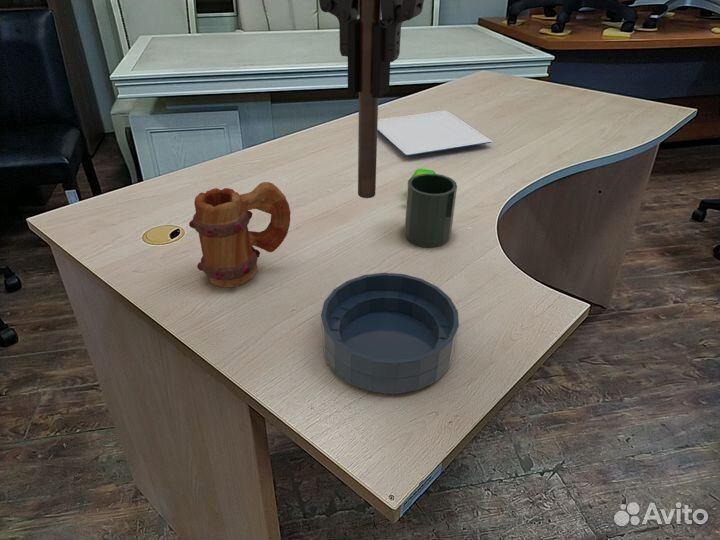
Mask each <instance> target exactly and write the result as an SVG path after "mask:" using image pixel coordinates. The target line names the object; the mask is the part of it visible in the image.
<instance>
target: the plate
mask: <svg viewBox="0 0 720 540" xmlns="http://www.w3.org/2000/svg"><path fill="white" fill-rule="evenodd" d="M377 132H379V133H380V134H382V136H384V137H385V138H386V139H387V140H388V141H389V142H390V143H391V144H393V145H394V146H395V147H396V148H397V150H399V151H400V152H401V153H403V155H405V156H407V157H410V156H416V155H423V154H429V153H435V152H436V153H437V152H443V151H448V150H455V149H462V148H466V147H467V148H468V147H472V146H479V145H480V146H481V145H486V144H491V143H492V142H493V140H492V139H490V138H489V137H487V136H486V135H484V134H483V133H481V132H480V131H478V130H477V129H475V128H474V127H472V126H470V125H469V124H468V123H466V122H464V121H462V119H460V118H458V117H457V116H455V115H454V114H452V113H451V112H449V111H448V110H439V111H430V112H423V113H415V114H409V115H408V114H407V115H401V116H400V115H399V116H392V117H384V118H378V125H377Z"/></svg>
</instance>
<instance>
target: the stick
mask: <svg viewBox="0 0 720 540" xmlns="http://www.w3.org/2000/svg"><path fill="white" fill-rule="evenodd" d="M359 10H360V15H359V18H360V20H359V92H358V126H357V127H358V130H357V131H358V132H357V135H358V138H357V139H358V141H357V143H358V144H357V147H358V148H357V196H358V197H359V198H363V199H372V198H374V197H375V196H376V188H377V187H376V185H377V155H378V130H377V125H378V119H379V98H373V97H372V76H373V33H374V26H375V25H377V24H379V20H381V19H382V17H381V0H360V9H359Z"/></svg>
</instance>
